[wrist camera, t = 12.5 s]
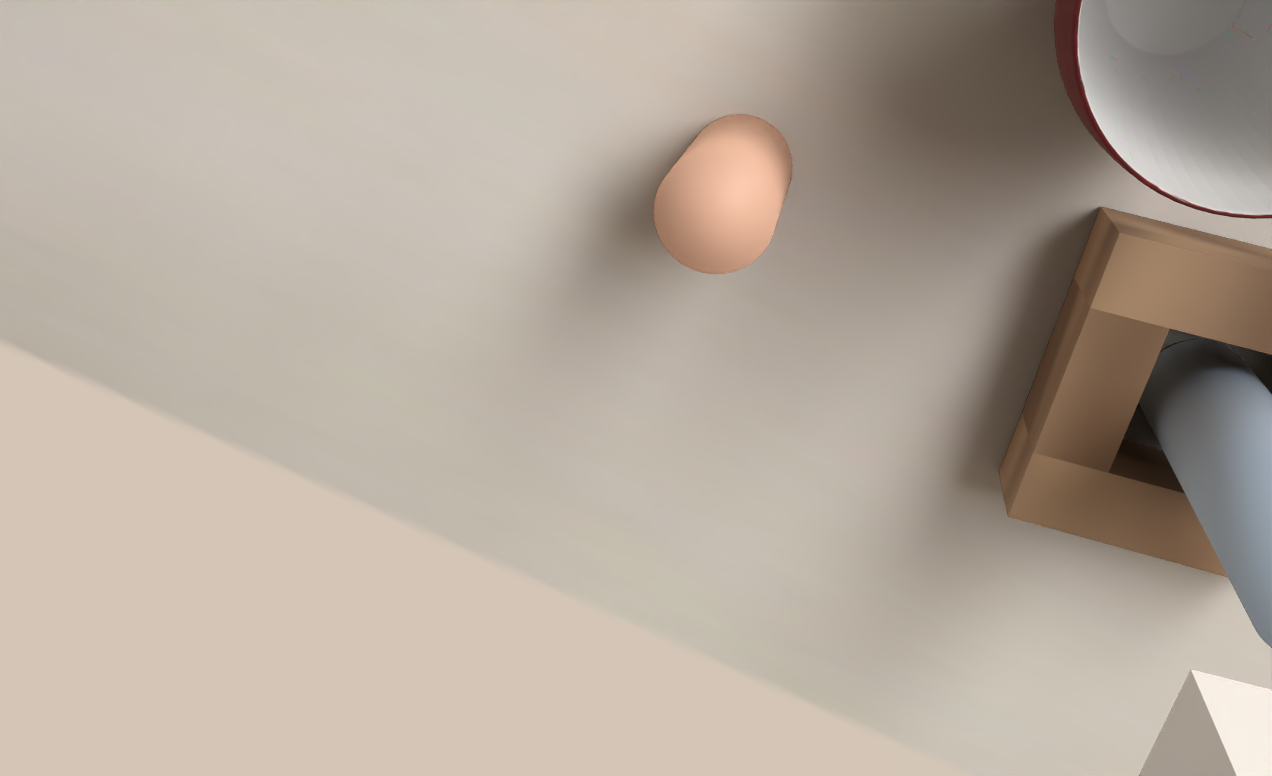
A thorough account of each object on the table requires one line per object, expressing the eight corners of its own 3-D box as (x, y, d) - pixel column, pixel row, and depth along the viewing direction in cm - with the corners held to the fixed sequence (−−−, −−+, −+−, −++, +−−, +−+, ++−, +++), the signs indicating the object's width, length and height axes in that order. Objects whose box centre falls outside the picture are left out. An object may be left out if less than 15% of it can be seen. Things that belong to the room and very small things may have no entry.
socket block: (998, 472, 38) (1007, 516, 35) (1100, 206, 34) (1119, 232, 32) (1281, 549, 37) (1312, 600, 34) (1416, 285, 34) (1463, 319, 31)
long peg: (1121, 420, 37) (1223, 638, 26) (1162, 326, 35) (1288, 515, 24) (1225, 449, 36) (1371, 682, 25) (1270, 356, 35) (1446, 559, 24)
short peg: (677, 204, 37) (642, 256, 31) (700, 103, 35) (668, 138, 30) (777, 230, 36) (759, 287, 31) (804, 128, 35) (790, 169, 30)
